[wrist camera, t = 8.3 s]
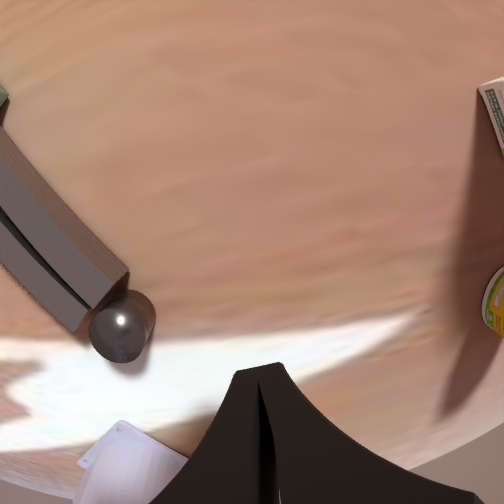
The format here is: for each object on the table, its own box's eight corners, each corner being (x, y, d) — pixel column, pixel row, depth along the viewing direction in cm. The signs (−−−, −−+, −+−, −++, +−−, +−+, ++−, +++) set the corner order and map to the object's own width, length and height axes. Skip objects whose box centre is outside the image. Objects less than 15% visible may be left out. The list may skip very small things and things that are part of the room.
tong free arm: (149, 246, 17) (135, 258, 14) (109, 292, 17) (93, 309, 15) (-17, 61, 13) (-38, 54, 10) (-44, 105, 13) (-65, 102, 11)
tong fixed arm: (119, 366, 19) (103, 395, 16) (-67, 163, 14) (-93, 166, 11) (165, 312, 18) (153, 339, 15) (-40, 103, 14) (-67, 99, 10)
